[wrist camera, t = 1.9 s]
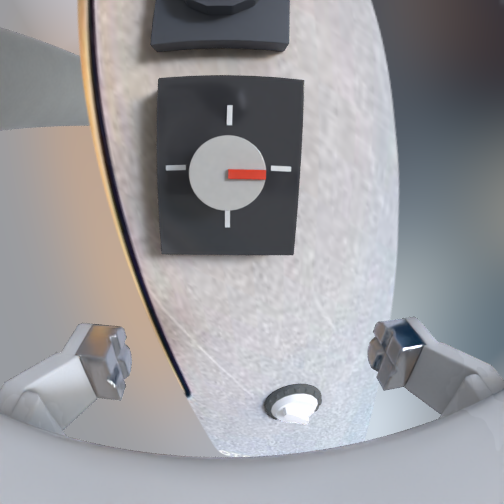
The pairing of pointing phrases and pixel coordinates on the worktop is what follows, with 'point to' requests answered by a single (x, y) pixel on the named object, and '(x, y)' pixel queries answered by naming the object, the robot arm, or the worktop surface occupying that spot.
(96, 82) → the worktop surface
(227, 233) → the hob knob base
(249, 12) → the block
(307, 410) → the stove knob
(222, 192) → the knob
